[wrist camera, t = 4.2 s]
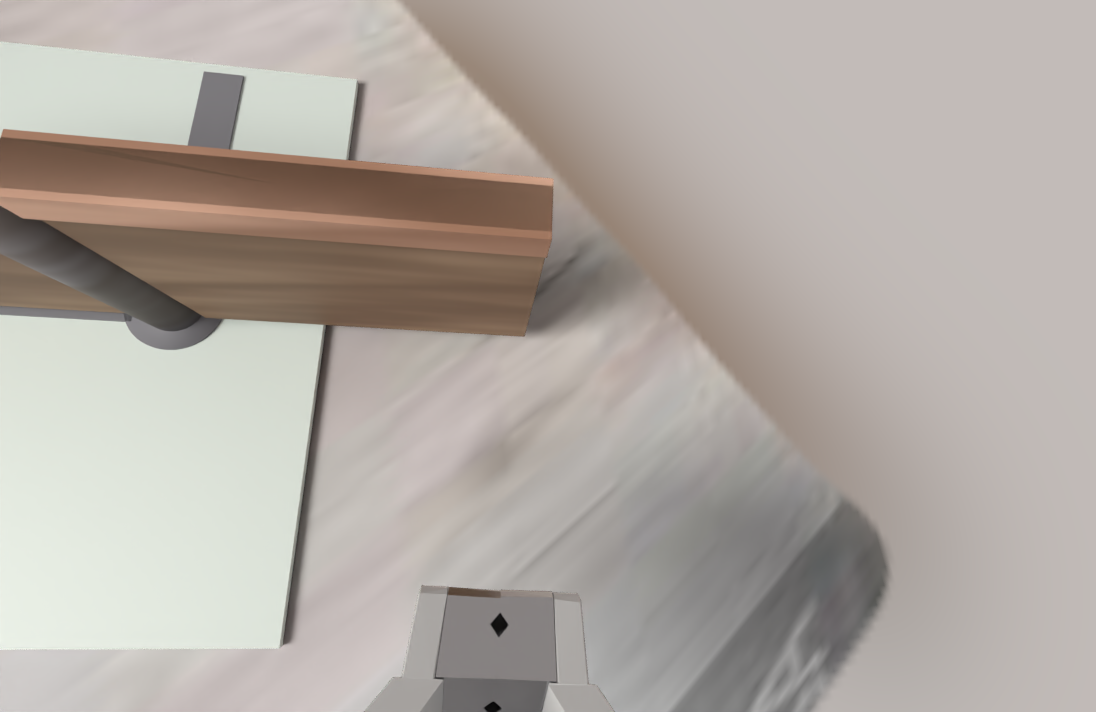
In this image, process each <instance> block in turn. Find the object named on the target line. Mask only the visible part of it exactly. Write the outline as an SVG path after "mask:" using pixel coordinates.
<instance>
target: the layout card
mask: <svg viewBox="0 0 1096 712" xmlns="http://www.w3.org/2000/svg"><path fill="white" fill-rule="evenodd" d="M358 85H359V84H358V81H357V79H348V78H339V77H330V76H320V75H311V74H301V73H292V72H283V71H273V70H264V69H254V68H245V67H236V66H226V65H217V64H207V63H198V62H189V61H179V60H170V59H160V58H151V57H142V56H132V55H123V54H113V53H104V52H95V51H85V50H76V49H66V48H57V47H48V46H38V45H29V44H19V43H10V42H1V41H0V138H1V135H2V131H3V129H10V130H21V131H32V132H43V133H54V134H65V135H77V136H88V137H99V138H110V139H121V140H132V141H143V142H154V143H165V144H176V145H187V146H198V147H209V148H220V149H231V150H242V151H253V152H264V153H275V154H286V155H297V156H309V157H320V158H331V159H342V160H348V159H349V151H350V144H351V137H352V129H353V122H354V114H355V107H356V100H357V92H358ZM325 328H326V325H319V324H302V323H285V322H268V321H251V320H234V319H216V318H205V317H203V316H201V317H200V318H199V320H198V321H197V322H195V323H194V324H193V325H191V326H190V327H188V328H186V329H183V330H179V331H163V330H160V329H158V328H156V327H153V326H151V325H149V324H147V323H145V322H143V321H141V320H139V319H137V318H134V317H132V316H130V315H128V314H126V313H114V312H96V311H79V310H62V309H45V308H28V307H11V306H0V650H47V649H279V648H280V647H282V646H283V638H284V631H285V624H286V616H287V609H288V601H289V594H290V587H291V579H292V572H293V565H294V557H295V550H296V542H297V535H298V528H299V520H300V513H301V505H302V498H303V491H304V483H305V476H306V469H307V461H308V454H309V446H310V439H311V432H312V424H313V417H314V410H315V402H316V395H317V387H318V380H319V373H320V365H321V358H322V351H323V343H324V336H325Z"/></svg>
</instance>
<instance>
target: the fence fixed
mask: <svg viewBox="0 0 1096 712" xmlns="http://www.w3.org/2000/svg"><path fill="white" fill-rule="evenodd" d="M0 306H11V307H28V308H45V309H62V310H79V311H96V312H114V313H126V314H128V315H130V316H132V317H134V318H137V319H139V320H141V321H143V322H145V323H147V324H149V325H151V326H153V327H156V328H158V329H160V330H163V331H179V330H183V329H186V328H188V327H190V326H191V325H193V324H194V323H195V322H197V321H198V320H199V318H200V317H201V316H202V315H200V314H198V313H197V312H195V311H193V310H192V309H190V308H188V307H187V306H185V305H183V304H182V303H180V302H178V301H176V300H175V299H173V298H171V297H170V296H168V295H166V294H165V293H163V292H161V291H160V290H158V289H156V288H155V287H153V286H151V285H150V284H148V283H146V282H144V281H143V280H141V279H139V278H138V277H136V276H134V275H133V274H131V273H129V272H128V271H126V270H124V269H123V268H121V267H119V266H118V265H116V264H114V263H113V262H111V261H109V260H107V259H106V258H104V257H102V256H101V255H99V254H97V253H96V252H94V251H92V250H91V249H89V248H87V247H86V246H84V245H82V244H81V243H79V242H77V241H76V240H74V239H72V238H70V237H69V236H67V235H65V234H64V233H62V232H60V231H59V230H57V229H55V228H54V227H52V226H50V225H49V224H47V223H45V222H44V221H42V220H36V219H23V218H21V217H19V216H18V215H16V214H14V213H12V212H11V211H9V210H7V209H5V208H4V207H2V206H0Z"/></svg>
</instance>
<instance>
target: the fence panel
mask: <svg viewBox="0 0 1096 712" xmlns="http://www.w3.org/2000/svg"><path fill="white" fill-rule="evenodd" d="M0 206H2V207H4V208H5V209H7V210H9V211H11V212H12V213H14V214H16V215H18V216H19V217H21V218H23V219H36V220H42V221H44V222H45V223H47V224H49V225H50V226H52V227H54V228H55V229H57V230H59V231H60V232H62V233H64V234H65V235H67V236H69V237H70V238H72V239H74V240H76V241H77V242H79V243H81V244H82V245H84V246H86V247H87V248H89V249H91V250H92V251H94V252H96V253H97V254H99V255H101V256H102V257H104V258H106V259H107V260H109V261H111V262H113V263H114V264H116V265H118V266H119V267H121V268H123V269H124V270H126V271H128V272H129V273H131V274H133V275H134V276H136V277H138V278H139V279H141V280H143V281H144V282H146V283H148V284H150V285H151V286H153V287H155V288H156V289H158V290H160V291H161V292H163V293H165V294H166V295H168V296H170V297H171V298H173V299H175V300H176V301H178V302H180V303H182V304H183V305H185V306H187V307H188V308H190V309H192V310H193V311H195V312H197V313H198V314H200V315H202V316H203V317H205V318H216V319H234V320H251V321H268V322H285V323H302V324H319V325H336V326H354V327H371V328H388V329H405V330H422V331H439V332H456V333H474V334H491V335H508V336H525V332H526V328H527V325H528V321H529V317H530V313H531V309H532V306H533V302H534V298H535V294H536V290H537V287H538V283H539V279H540V275H541V271H542V267H543V264H544V260H545V257H546V258H547V255H548V251H549V248H550V244H551V240H552V209H553V179H552V178H540V177H529V176H518V175H507V174H496V173H485V172H474V171H463V170H452V169H441V168H430V167H419V166H408V165H397V164H386V163H375V162H364V161H353V160H342V159H331V158H320V157H309V156H297V155H286V154H275V153H264V152H253V151H242V150H231V149H220V148H209V147H198V146H187V145H176V144H165V143H154V142H143V141H132V140H121V139H110V138H99V137H88V136H77V135H65V134H54V133H43V132H32V131H21V130H10V129H3V131H2V135H1V138H0Z"/></svg>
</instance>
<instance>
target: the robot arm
mask: <svg viewBox="0 0 1096 712" xmlns="http://www.w3.org/2000/svg"><path fill="white" fill-rule="evenodd" d="M364 712H615V711H614V710H613V708H612V707H611V705H610V704H609V702H608V701H607V699H606V698H605V696H604V695H603V693H602V692H601V690H600V689H599V687H598V686H597V685H593V684H589V681H588V670H587V659H586V648H585V638H584V627H583V616H582V605H581V599H580V597H579V594H578V593H558V592H552V591H526V590H488V589H472V588H456V587H446V586H425V585H422V586H421V588H420V591H419V594H418V598H417V603H416V608H415V613H414V617H413V622H412V627H411V632H410V637H409V642H408V647H407V652H406V657H405V662H404V666H403V671H402V676H401V677H393V678H392V679H391V680H390V681H389V682H388V684H387V685H386V686H385V687H384V688H383V690H382V691H381V692H380V693H379V694H378V696H377V697H376V698H375V699H374V700H373V701H372V703H371V704H370V705H369V706H368V707H367V709H366V710H365V711H364Z"/></svg>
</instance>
